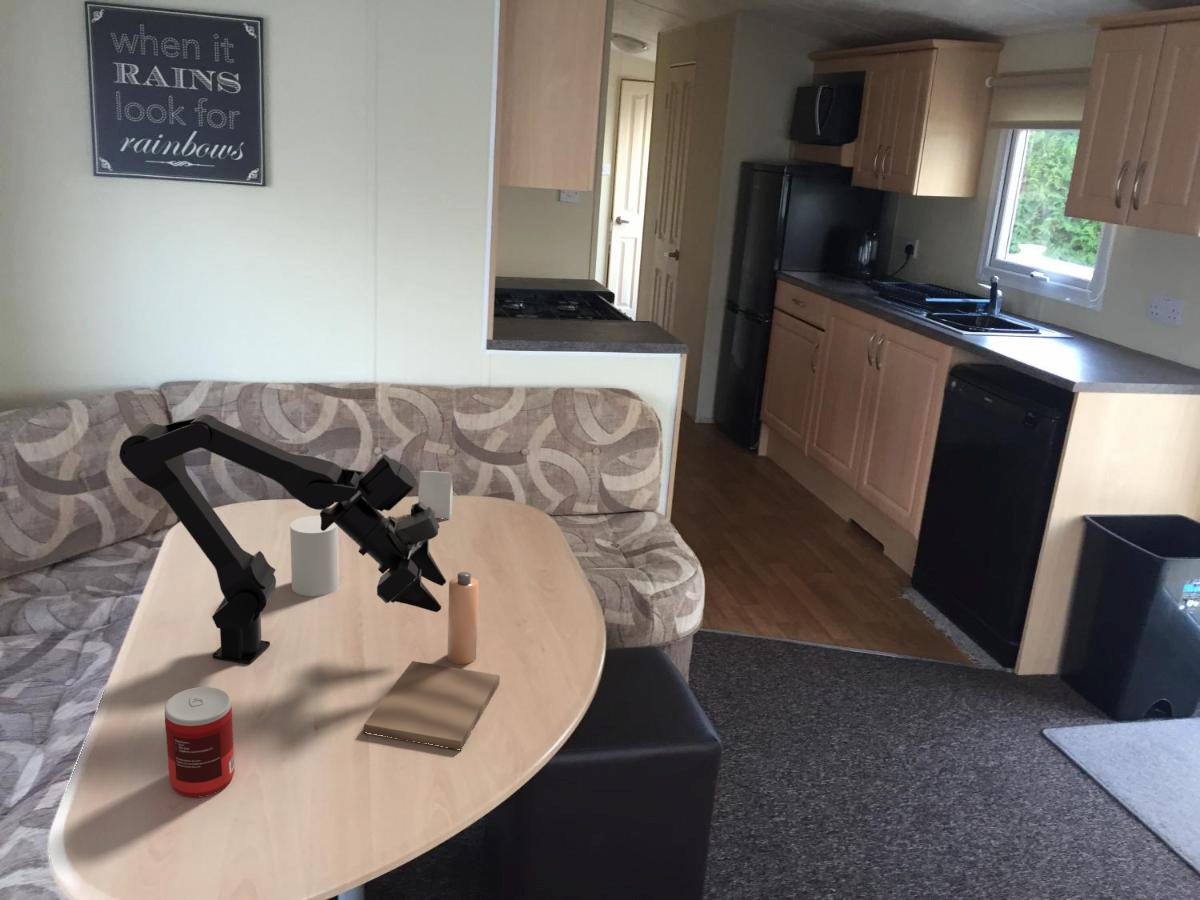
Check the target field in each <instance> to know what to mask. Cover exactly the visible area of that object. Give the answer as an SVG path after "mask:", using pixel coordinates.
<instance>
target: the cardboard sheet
mask: <svg viewBox="0 0 1200 900" xmlns="http://www.w3.org/2000/svg"><path fill="white" fill-rule="evenodd" d="M500 681H501V680H500V675H499V674H496V673H495V674H494V673H488V672H482V671H475V670H469V669H465V668H457V667H452V666H445V665H439V664H433V663H428V662H421V661H415V660H411V662H410V664H409V665H408V666H407V668H406V669H405V670H404V671H403V672H402V674H401V675H400V677H399V678H398V679H397V681H396V682H395V683H394V684H393V685H392V687H391V688H390V689H389V691H388V692H387V694H386V695H385V696H384V697H383V699H382V700H381V701H380V703H379V704H378V705H377V706H376V708H375V709H374V710H373V711H372V713H371V714H370V716H369V717H368V718H367V719H366V721H365V722H364V723H363V733H364V732H367V733H371V734H377V735H383V736H386V737H387V736H388V737H392V738H397V739H400V740H399V741H403V740H408V741H415V742H420V743H427V744H428V743H429V744H433V745H439V746H443V747H448V748H453V749H460V750H461V749H462V750H463V748H464V747H463V746H465V745H466V743H467V741H468V740H467V738H468V737H470V736H471V734H472V733H471V731H472V730H473V731H474V729H475V727H476V726H477V724H478V722H479V720H480V719H481V717H482V715H483V713H484V712H485V710H486V708H487V706H488V704H489V703H490V701H491V699H492V698H493V696H494V694H495V693H496V691H495V690H497V689H498V687H499V685H500ZM491 697H492V698H491ZM483 711H484V712H483ZM480 716H481V717H480ZM479 718H480V719H479ZM477 721H478V722H477ZM476 723H477V724H476ZM475 725H476V726H475ZM474 726H475V727H474ZM473 728H474V729H473ZM473 731H472V732H473ZM470 733H471V734H470ZM469 735H470V736H469ZM386 737H385V738H386ZM392 738H391V739H392ZM397 739H396V740H397ZM468 739H469V738H468ZM466 740H467V741H466ZM408 741H407V742H408ZM465 742H466V743H465ZM464 744H465V745H464ZM462 747H463V748H462ZM453 749H452V750H453ZM462 750H461V751H462Z"/></svg>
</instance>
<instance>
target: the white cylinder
mask: <svg viewBox="0 0 1200 900" xmlns="http://www.w3.org/2000/svg"><path fill="white" fill-rule="evenodd" d="M289 530H290V566H291V567H290V568H291V589H292V591H293V592H294V593H295V594H298V595H301V596H306V597H320V596H321V597H322V596H325V595H329V594H332V593H334V592H335V591H336V590H338V588H339V587H340V578H339V577H340V574H339V567H340V566H339V565H340V564H339V561H340V560H339V557H340V556H339V527H338V526H337V525H336V524H335V523H333V524H331V525H330V526H329V527H328V528H327V529H326V530H325V531H322V530H321V516H320V515H307V516H303V517H299V518H296V519H294V520H293V521H291V522H290V524H289Z"/></svg>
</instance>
